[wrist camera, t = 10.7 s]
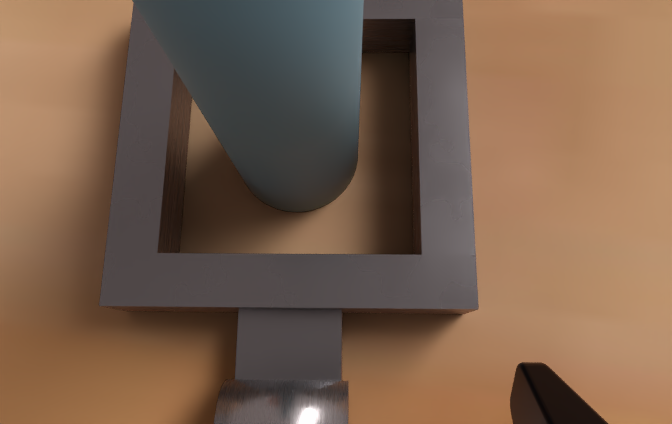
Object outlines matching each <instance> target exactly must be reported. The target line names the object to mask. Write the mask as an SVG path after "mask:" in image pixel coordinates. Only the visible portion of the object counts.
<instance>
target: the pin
mask: <svg viewBox="0 0 672 424" xmlns="http://www.w3.org/2000/svg"><path fill="white" fill-rule="evenodd" d="M132 1H133V2H134V4H135V5H136V7H137V9H138V10H139V12H140V14H141V15H142V17H143V18H144V20H145V22H146V23H147V25H148V27H149V28H150V30H151V31H152V33H153V35H154V36H155V38H156V39H157V41H158V43H159V44H160V46H161V48H162V49H163V51H164V52H165V54H166V56H167V57H168V59H169V60H170V62H171V64H172V65H173V67H174V69H175V70H176V72H177V73H178V75H179V77H180V78H181V80H182V81H183V83H184V85H185V86H186V88H187V90H188V91H189V93H190V94H191V96H192V98H193V99H194V101H195V102H196V104H197V106H198V107H199V109H200V111H201V112H202V114H203V115H204V117H205V119H206V120H207V122H208V124H209V125H210V127H211V128H212V130H213V132H214V133H215V135H216V136H217V138H218V140H219V141H220V143H221V145H222V146H223V148H224V149H225V151H226V153H227V154H228V156H229V157H230V159H231V161H232V162H233V164H234V166H235V167H236V169H237V170H238V172H239V174H240V175H241V177H242V178H243V180H244V182H245V183H246V185H247V186H248V188H249V189H250V191H251V192H252V193H253V194H254V195H255V196H256V197H257V198H259V199H260V200H261V201H262V202H264V203H266V204H267V205H269V206H271V207H274V208H276V209H280V210H283V211H289V212H304V211H310V210H314V209H317V208H320V207H322V206H324V205H326V204H328V203H330V202H331V201H333V200H334V199H336V198H337V197H338V196H339V195H340V194H341V193H342V192H343V191H344V190H345V189H346V188H347V186H348V185H349V183H350V182H351V180H352V178H353V176H354V173H355V170H356V166H357V161H358V139H359V112H360V85H361V58H362V32H363V5H364V0H132Z"/></svg>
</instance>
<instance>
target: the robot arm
mask: <svg viewBox="0 0 672 424" xmlns="http://www.w3.org/2000/svg"><path fill="white" fill-rule="evenodd" d="M510 409H511V415H512V420H513V424H608V423H607V422H606V421H605V420H604V419H603V418H602V417H601V416H600V415H599V414H598V413H597V412H596V411H595V410H593V409H592V408H591V407H590V406H589V405H588V404H587V403H586V402H585V401H584V400H583V399H582V398H581V397H580V396H579V395H578V394H577V393H576V392H575V391H574V390H572V389H571V388H570V387H569V386H568V385H567V384H566V383H565V382H564V381H563V380H562V379H561V378H560V377H559V376H558V375H557V374H556V373H555V372H554V371H553V370H552V369H550V368H549V367H548V366H547V365H546V364H544V363H529V362H522V363H520V364H518V366H517V368H516V372H515V377H514V382H513V387H512V392H511V397H510Z"/></svg>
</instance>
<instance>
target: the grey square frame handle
mask: <svg viewBox="0 0 672 424" xmlns="http://www.w3.org/2000/svg"><path fill="white" fill-rule="evenodd" d="M362 52H409V79H410V120H411V161H412V203H413V244H414V255H390V254H220V253H179V250H180V238H181V226H182V213H183V201H184V188H185V176H186V164H187V151H188V139H189V127H190V114H191V102H192V96H191V94H190V93H189V91H188V90H187V88H186V86H185V85H184V83H183V81H182V80H181V78H180V77H179V75H178V73H177V72H176V70H175V69H174V67H173V65H172V64H171V62H170V60H169V59H168V57H167V56H166V54H165V52H164V51H163V49H162V48H161V46H160V44H159V43H158V41H157V39H156V38H155V36H154V35H153V33H152V31H151V30H150V28H149V27H148V25H147V23H146V22H145V20H144V18H143V17H142V15H141V14H140V12H139V10H138V9H137V7H136V5H135V4H133V13H132V22H131V31H130V40H129V48H128V57H127V66H126V75H125V83H124V92H123V101H122V110H121V119H120V127H119V136H118V145H117V154H116V162H115V171H114V180H113V189H112V198H111V206H110V215H109V224H108V233H107V241H106V250H105V259H104V268H103V277H102V285H101V294H100V303H99V306H102V307H107V308H113V309H118V310H123V311H159V312H238V330H237V349H236V368H235V379H227V380H225V381H224V383H223V385H222V387H221V390H220V393H219V397H218V401H217V406H216V412H215V419H214V424H348V381H342V313H386V314H466V313H469V312H472V311H475V310H478V291H477V272H476V253H475V233H474V214H473V195H472V175H471V156H470V137H469V118H468V98H467V79H466V60H465V40H464V21H463V2H462V0H364V5H363V32H362Z"/></svg>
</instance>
